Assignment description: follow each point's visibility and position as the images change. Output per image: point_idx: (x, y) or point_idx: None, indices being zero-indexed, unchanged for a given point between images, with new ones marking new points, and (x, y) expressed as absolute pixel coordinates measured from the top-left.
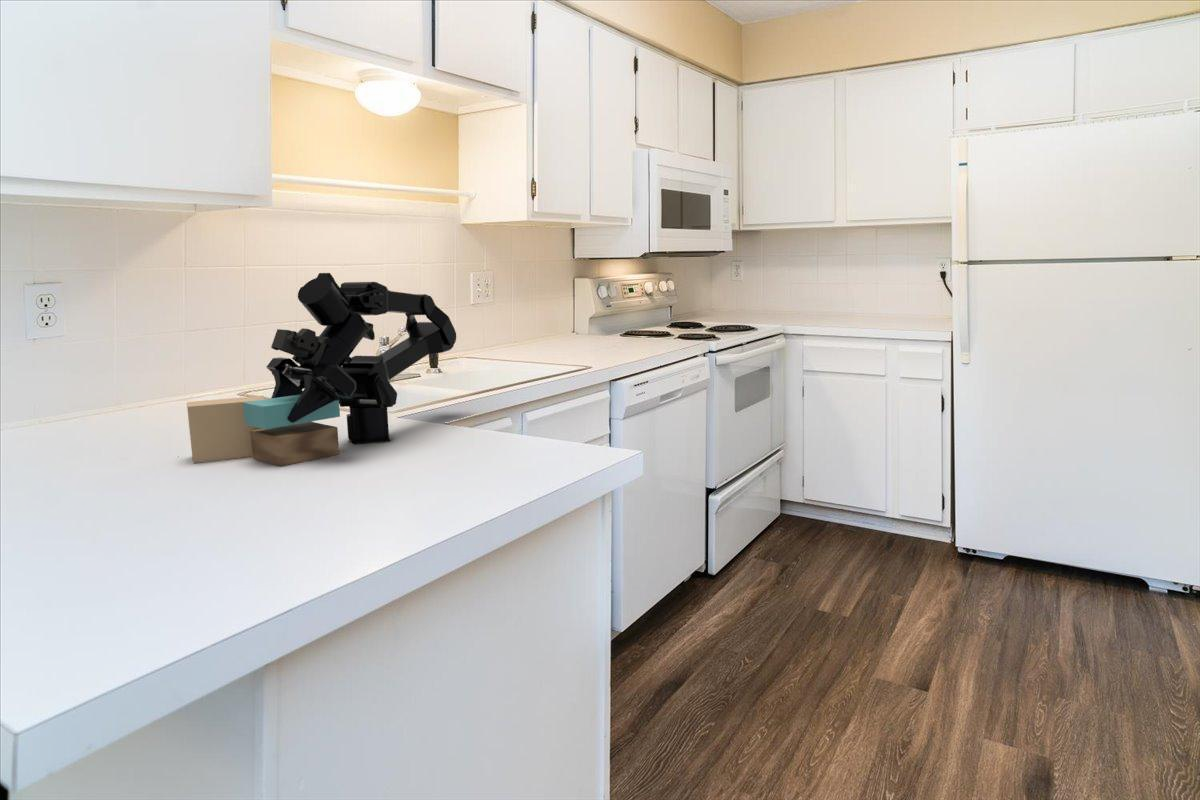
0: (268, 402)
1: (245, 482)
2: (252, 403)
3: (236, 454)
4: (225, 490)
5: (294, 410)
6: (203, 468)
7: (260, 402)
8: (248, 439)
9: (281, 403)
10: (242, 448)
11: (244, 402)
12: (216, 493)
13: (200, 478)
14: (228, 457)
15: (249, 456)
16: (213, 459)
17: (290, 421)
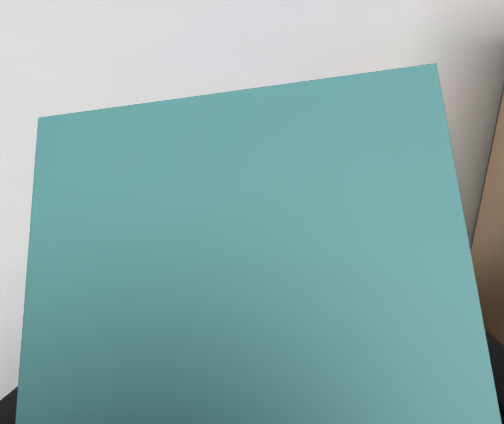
0: (224, 237)
1: (63, 100)
2: (300, 110)
3: (487, 190)
4: (26, 31)
5: (16, 387)
6: (403, 51)
7: (297, 184)
8: (500, 234)
9: (55, 299)
10: (489, 211)
11: (434, 75)
12: (17, 5)
13: (242, 9)
14: (492, 160)
15: (471, 250)
16: (501, 101)
17: None
